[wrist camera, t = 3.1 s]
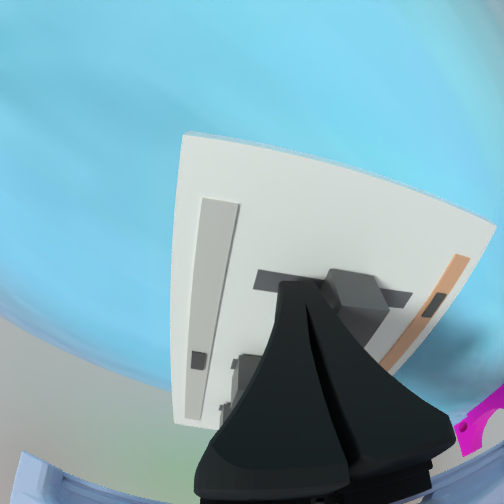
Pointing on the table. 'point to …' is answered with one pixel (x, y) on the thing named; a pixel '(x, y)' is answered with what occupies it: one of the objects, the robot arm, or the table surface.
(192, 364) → the switch panel
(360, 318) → the tab
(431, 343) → the table surface
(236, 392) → the tab
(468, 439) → the toy block
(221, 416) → the tab
